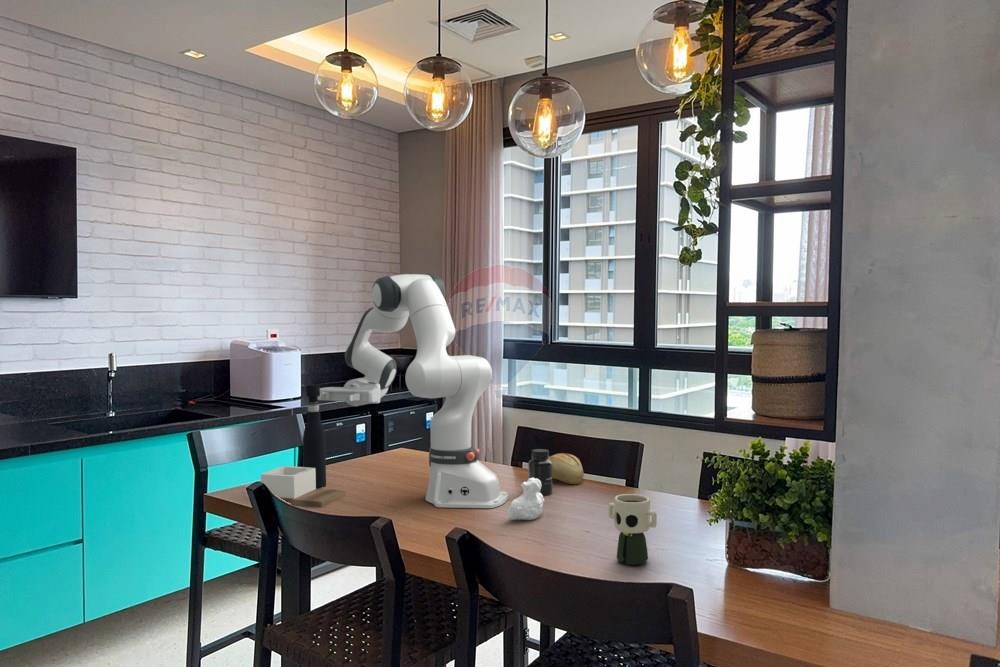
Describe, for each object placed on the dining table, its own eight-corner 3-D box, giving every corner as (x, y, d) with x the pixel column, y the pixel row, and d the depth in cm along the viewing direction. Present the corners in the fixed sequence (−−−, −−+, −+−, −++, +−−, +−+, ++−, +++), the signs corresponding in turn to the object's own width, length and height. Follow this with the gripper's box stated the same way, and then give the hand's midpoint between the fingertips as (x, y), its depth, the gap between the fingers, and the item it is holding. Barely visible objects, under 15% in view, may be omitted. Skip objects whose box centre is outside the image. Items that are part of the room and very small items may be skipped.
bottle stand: (345, 495, 195) (344, 469, 195) (321, 507, 184) (321, 479, 183) (283, 491, 201) (282, 465, 201) (257, 502, 190) (256, 474, 189)
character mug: (599, 560, 143) (599, 497, 142) (618, 551, 148) (618, 490, 147) (647, 573, 135) (647, 506, 135) (665, 562, 141) (664, 499, 140)
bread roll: (556, 473, 219) (556, 448, 219) (592, 482, 208) (592, 455, 207) (534, 478, 213) (533, 452, 212) (570, 487, 201) (569, 460, 201)
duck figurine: (513, 533, 167) (535, 501, 163) (494, 509, 171) (515, 477, 166) (543, 521, 177) (565, 491, 172) (524, 499, 180) (546, 468, 175)
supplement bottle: (553, 496, 192) (552, 452, 192) (528, 496, 192) (528, 453, 192) (552, 489, 199) (551, 447, 199) (528, 489, 199) (527, 448, 199)
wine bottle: (309, 490, 201) (307, 386, 200) (300, 486, 206) (298, 385, 205) (330, 486, 206) (328, 385, 205) (320, 482, 211) (318, 383, 210)
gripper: (328, 381, 233) (305, 386, 220) (384, 383, 227) (363, 388, 214) (329, 400, 233) (305, 406, 220) (384, 403, 227) (363, 409, 214)
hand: (334, 397), depth 217 cm, fingers open, 8 cm apart
